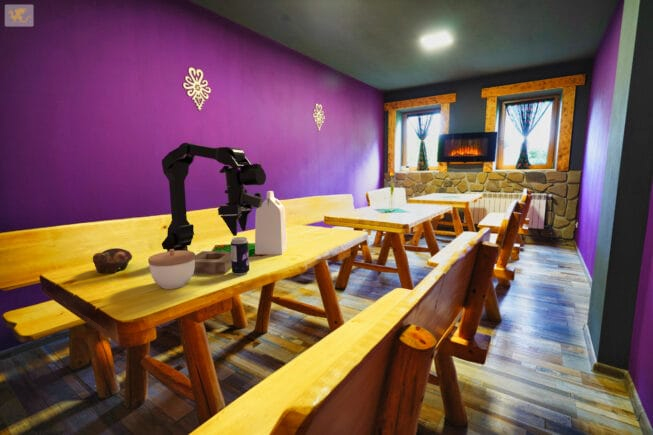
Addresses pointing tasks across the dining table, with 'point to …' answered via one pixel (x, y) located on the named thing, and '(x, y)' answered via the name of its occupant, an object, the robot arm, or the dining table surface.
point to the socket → (213, 262)
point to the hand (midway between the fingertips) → (239, 233)
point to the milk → (270, 227)
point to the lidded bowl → (172, 268)
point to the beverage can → (240, 255)
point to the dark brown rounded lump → (112, 260)
